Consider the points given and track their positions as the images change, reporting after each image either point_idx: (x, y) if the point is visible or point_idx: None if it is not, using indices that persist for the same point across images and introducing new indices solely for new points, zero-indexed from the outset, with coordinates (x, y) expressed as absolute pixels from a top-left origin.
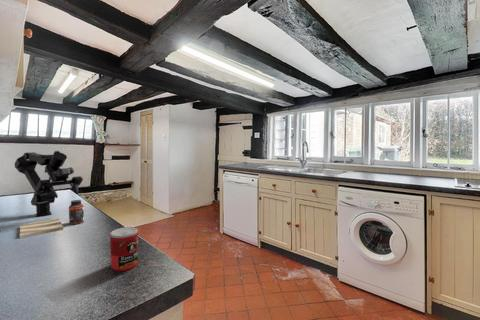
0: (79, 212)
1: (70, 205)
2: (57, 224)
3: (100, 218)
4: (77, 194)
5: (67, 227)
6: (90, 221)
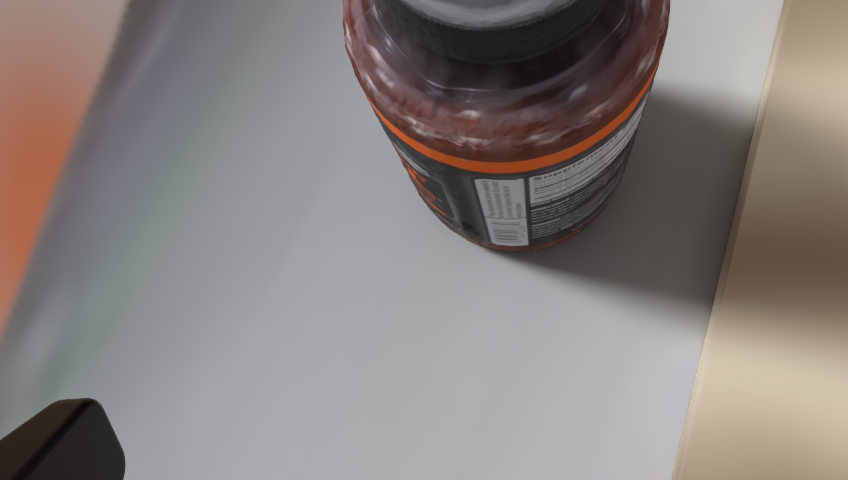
0: None
1: (631, 4)
2: (814, 180)
3: (195, 84)
4: (108, 451)
5: (707, 36)
6: None
